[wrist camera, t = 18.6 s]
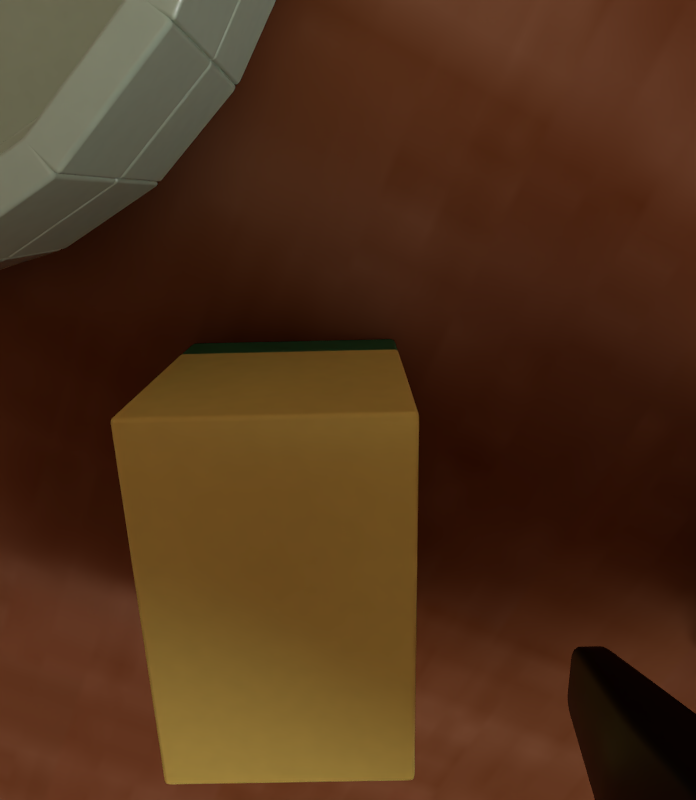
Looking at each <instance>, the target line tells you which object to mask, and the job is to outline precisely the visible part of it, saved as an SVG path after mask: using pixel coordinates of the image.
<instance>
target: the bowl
mask: <svg viewBox="0 0 696 800" xmlns="http://www.w3.org/2000/svg"><path fill="white" fill-rule="evenodd" d="M275 1H276V0H0V269H3V268H7V267H10V266H13V265H16V264H19V263H22V262H26V261H29V260H32V259H35V258H38V257H42V256H45V255H48V254H51V253H54V252H57V251H59V250H60V249H64V248H67V247H68V246H70V245H71V244H73V243H74V242H76V241H77V240H78V239H80V238H81V237H83V236H84V235H86V234H87V233H89V232H90V231H92V230H93V229H94V228H96V227H97V226H99V225H100V224H102V223H103V222H105V221H106V220H108V219H109V218H111V217H112V216H113V215H115V214H116V213H118V212H119V211H121V210H122V209H124V208H125V207H127V206H128V205H130V204H131V203H132V202H134V201H135V200H137V199H138V198H140V197H141V196H143V195H144V194H146V193H147V192H148V191H150V190H151V189H153V188H154V187H156V186H157V182H159V181H161V180H162V179H163V178H164V176H165V175H166V174H167V173H168V172H169V170H170V169H171V168H172V167H173V165H174V164H175V163H176V162H177V160H178V159H179V158H180V157H181V156H182V154H183V153H184V152H185V151H186V149H187V148H188V147H189V146H190V144H191V143H192V142H193V141H194V139H195V138H196V137H197V136H198V135H199V133H200V132H201V131H202V130H203V128H204V127H205V126H206V125H207V123H208V122H209V121H210V120H211V119H212V117H213V116H214V115H215V114H216V112H217V111H218V110H219V109H220V107H221V106H222V105H223V104H224V102H225V101H226V100H227V99H228V98H229V96H230V95H231V94H232V93H233V91H234V89H235V84H238V83H239V82H240V80H241V78H242V76H243V73H244V71H245V69H246V67H247V64H248V62H249V60H250V58H251V55H252V53H253V51H254V49H255V46H256V44H257V42H258V40H259V37H260V35H261V33H262V31H263V28H264V26H265V24H266V21H267V19H268V17H269V15H270V12H271V10H272V8H273V6H274V3H275Z"/></svg>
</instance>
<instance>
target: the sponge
mask: <svg viewBox="0 0 696 800" xmlns="http://www.w3.org/2000/svg"><path fill="white" fill-rule="evenodd" d="M111 428H112V434H113V441H114V448H115V454H116V461H117V468H118V474H119V481H120V487H121V494H122V501H123V507H124V514H125V521H126V527H127V534H128V540H129V547H130V554H131V560H132V567H133V574H134V580H135V587H136V593H137V600H138V607H139V613H140V620H141V627H142V633H143V640H144V646H145V653H146V660H147V666H148V673H149V679H150V686H151V693H152V699H153V706H154V713H155V719H156V726H157V732H158V739H159V746H160V752H161V759H162V766H163V772H164V779H165V783H167V784H211V783H271V782H331V781H390V780H412V779H413V778H414V773H415V696H416V619H417V542H418V465H419V414H418V411H417V408H416V404H415V401H414V398H413V395H412V392H411V389H410V386H409V383H408V380H407V377H406V374H405V371H404V368H403V365H402V362H401V359H400V356H399V353H398V350H397V347H396V344H395V342H394V340H392V339H377V340H333V341H289V342H245V343H200V344H193V345H192V346H190V347H189V348H188V349H187V350H186V351H185V352H184V353H183V354H182V355H180V356H179V357H178V358H177V359H176V360H175V361H174V362H173V363H171V364H170V365H169V366H168V367H167V368H166V369H165V370H164V371H163V372H162V373H161V374H160V375H158V376H157V377H156V378H155V379H154V380H153V381H152V382H151V383H150V384H149V385H148V386H147V387H145V388H144V389H143V390H142V391H141V392H140V393H139V394H138V395H137V396H136V397H135V398H133V399H132V400H131V401H130V402H129V403H128V404H127V405H126V406H125V407H124V408H123V409H122V410H120V411H119V412H118V413H117V414H116V415H115V416H114V417H113V418H112V419H111Z"/></svg>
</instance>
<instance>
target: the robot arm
mask: <svg viewBox="0 0 696 800" xmlns="http://www.w3.org/2000/svg"><path fill="white" fill-rule="evenodd" d="M568 706H569V711H570V715H571V719H572V722H573V725H574V729H575V732H576V736H577V739H578V743H579V746H580V750H581V753H582V756H583V760H584V763H585V767H586V770H587V774H588V777H589V781H590V784H591V787H592V791H593V794H594V798H595V800H696V714H695V713H694V712H692V711H691V710H690V709H688V708H687V707H686V706H684V705H683V704H682V703H680V702H679V701H678V700H676V699H675V698H674V697H672V696H671V695H670V694H668V693H667V692H665V691H664V690H663V689H661V688H660V687H659V686H657V685H656V684H655V683H653V682H652V681H651V680H649V679H648V678H647V677H645V676H644V675H643V674H641V673H640V672H638V671H637V670H636V669H634V668H633V667H632V666H630V665H629V664H628V663H626V662H625V661H624V660H622V659H621V658H620V657H618V656H617V655H616V654H614V653H613V652H612V651H610V650H609V649H607V648H605V647H601V646H595V647H577V648H576V649H575V650H574V651H573V654H572V659H571V668H570V678H569V687H568Z"/></svg>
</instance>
